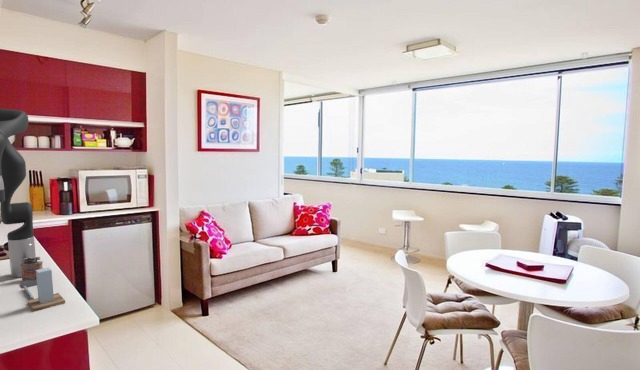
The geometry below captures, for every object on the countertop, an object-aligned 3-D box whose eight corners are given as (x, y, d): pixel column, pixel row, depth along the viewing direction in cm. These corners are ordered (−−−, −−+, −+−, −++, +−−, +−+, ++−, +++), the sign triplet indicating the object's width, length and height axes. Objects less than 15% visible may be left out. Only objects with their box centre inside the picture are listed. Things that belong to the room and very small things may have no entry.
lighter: (20, 281, 157) (18, 259, 155) (24, 278, 160) (22, 256, 159) (41, 279, 159) (39, 257, 158) (45, 276, 162) (43, 255, 161)
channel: (24, 289, 148) (24, 286, 148) (44, 284, 153) (43, 281, 152) (32, 301, 137) (32, 297, 137) (53, 295, 142) (53, 292, 142)
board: (27, 303, 135) (27, 300, 135) (58, 295, 142) (58, 292, 142) (33, 311, 129) (33, 308, 129) (65, 302, 136) (65, 300, 136)
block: (38, 300, 135) (35, 270, 134) (51, 297, 138) (48, 267, 137) (40, 303, 133) (38, 272, 131) (53, 300, 136) (51, 269, 134)
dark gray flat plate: (20, 284, 153) (20, 283, 153) (40, 279, 158) (40, 279, 158) (22, 288, 149) (22, 287, 149) (43, 283, 154) (43, 282, 154)
